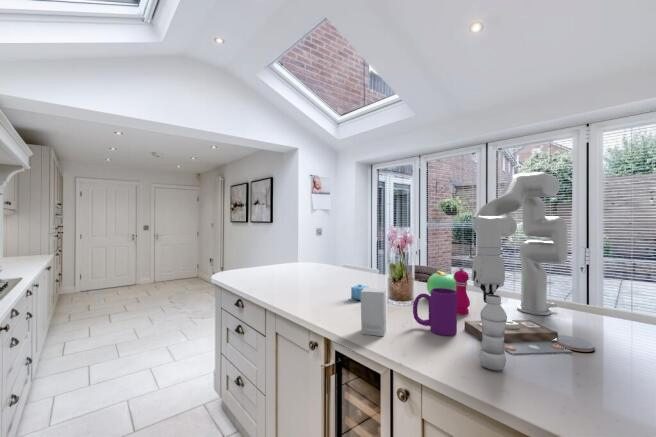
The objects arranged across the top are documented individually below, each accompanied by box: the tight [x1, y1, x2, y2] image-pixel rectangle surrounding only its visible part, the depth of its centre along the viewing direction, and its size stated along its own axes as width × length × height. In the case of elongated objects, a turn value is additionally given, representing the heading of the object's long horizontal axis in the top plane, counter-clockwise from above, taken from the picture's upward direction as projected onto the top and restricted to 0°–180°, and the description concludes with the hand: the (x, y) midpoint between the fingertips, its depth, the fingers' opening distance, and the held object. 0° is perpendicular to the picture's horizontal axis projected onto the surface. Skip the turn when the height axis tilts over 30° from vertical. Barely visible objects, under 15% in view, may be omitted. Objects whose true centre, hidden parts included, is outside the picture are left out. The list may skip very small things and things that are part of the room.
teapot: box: [350, 284, 370, 302], centre depth 156 cm, size 12×6×8 cm, turn 147°
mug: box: [412, 288, 458, 337], centre depth 115 cm, size 9×16×15 cm, turn 63°
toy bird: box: [426, 270, 456, 296], centre depth 157 cm, size 18×17×15 cm
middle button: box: [505, 319, 519, 329], centre depth 111 cm, size 4×4×3 cm
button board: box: [464, 319, 559, 344], centre depth 111 cm, size 26×13×3 cm, turn 95°
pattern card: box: [504, 342, 574, 356], centre depth 99 cm, size 20×7×1 cm, turn 95°
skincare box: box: [360, 287, 387, 337], centre depth 112 cm, size 8×7×16 cm
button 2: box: [520, 322, 540, 329], centre depth 112 cm, size 4×4×3 cm
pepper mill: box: [453, 266, 471, 316], centre depth 136 cm, size 7×7×20 cm
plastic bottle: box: [479, 294, 508, 371], centre depth 86 cm, size 6×7×20 cm
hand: (488, 303), depth 110 cm, fingers closed
